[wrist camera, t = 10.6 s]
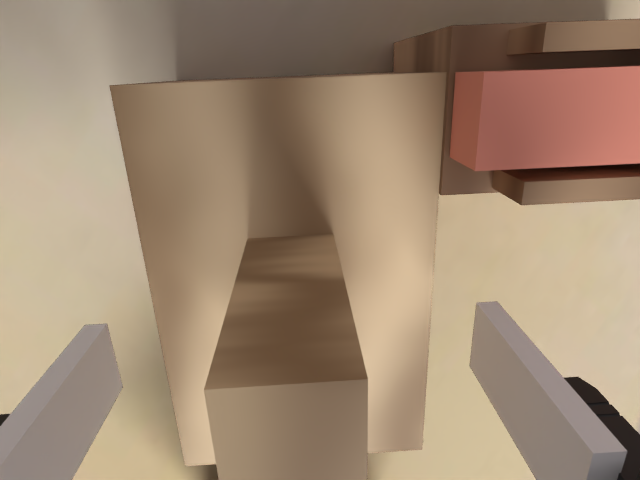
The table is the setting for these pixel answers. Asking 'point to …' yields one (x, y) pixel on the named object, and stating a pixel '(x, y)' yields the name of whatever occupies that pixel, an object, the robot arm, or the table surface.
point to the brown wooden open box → (518, 54)
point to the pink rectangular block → (546, 118)
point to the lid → (289, 263)
